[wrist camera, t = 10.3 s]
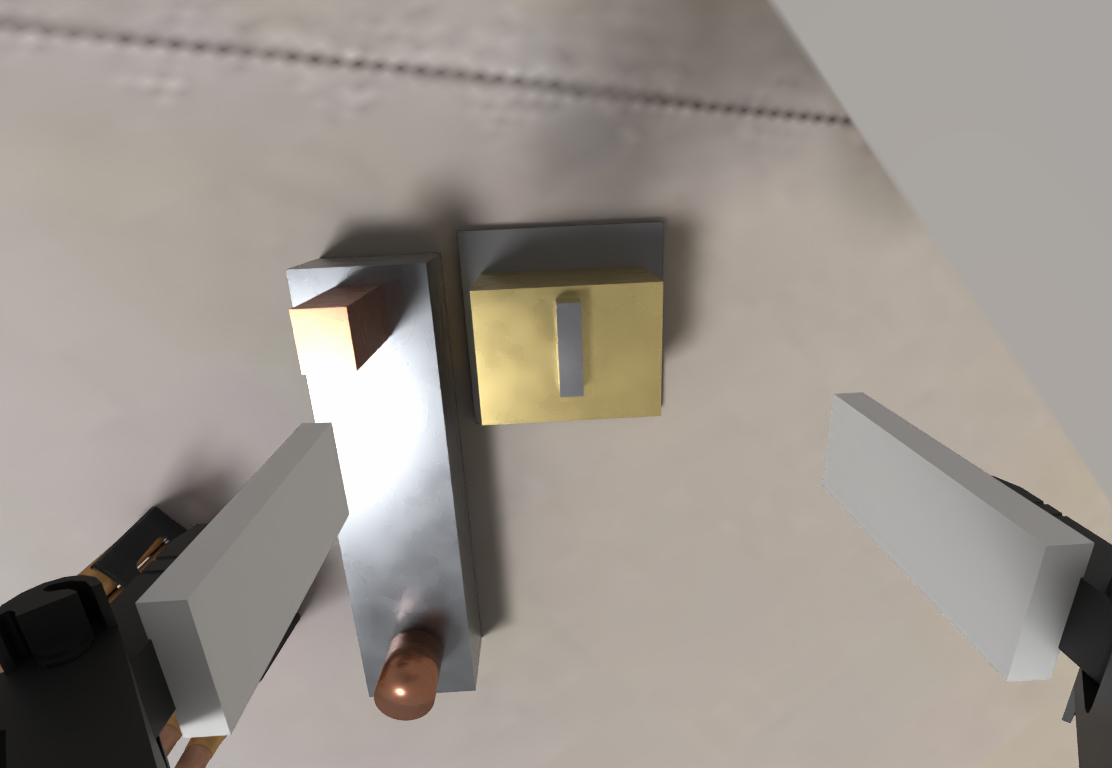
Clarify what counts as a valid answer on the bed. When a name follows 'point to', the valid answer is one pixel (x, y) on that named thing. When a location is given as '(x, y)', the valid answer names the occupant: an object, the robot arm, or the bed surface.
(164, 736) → the ammunition clip
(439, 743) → the bed surface
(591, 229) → the felt mat
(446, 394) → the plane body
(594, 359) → the lever cap
